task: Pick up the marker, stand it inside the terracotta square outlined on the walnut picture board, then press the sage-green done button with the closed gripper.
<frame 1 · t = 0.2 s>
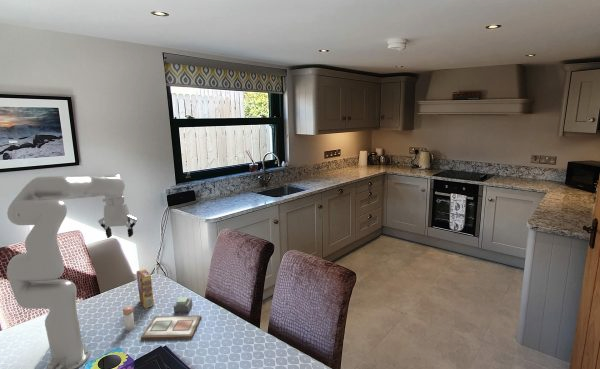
hand: (120, 236, 163), 31 cm above the table, tool pointing down, fingers open, 9 cm apart
done button: (182, 301, 156), point 4 cm above the table, slide at 0.0 cm
marker: (130, 328, 145), on the table
picture board: (172, 328, 144), on the table
button housing: (183, 309, 157), on the table
candy box: (147, 303, 163), on the table
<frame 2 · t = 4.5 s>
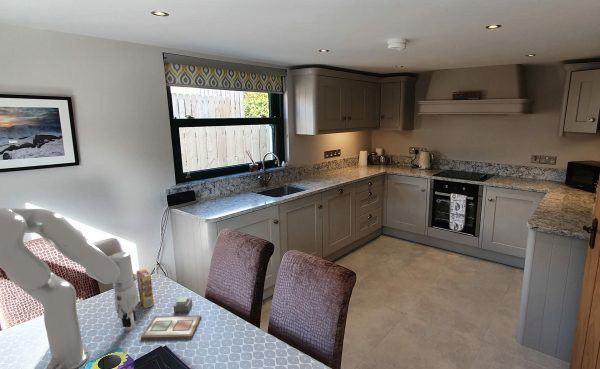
hand: (129, 323, 144), 2 cm above the table, tool pointing down, fingers closed on marker, 3 cm apart
marker: (130, 328, 145), on the table, touching gripper
everything else where it was.
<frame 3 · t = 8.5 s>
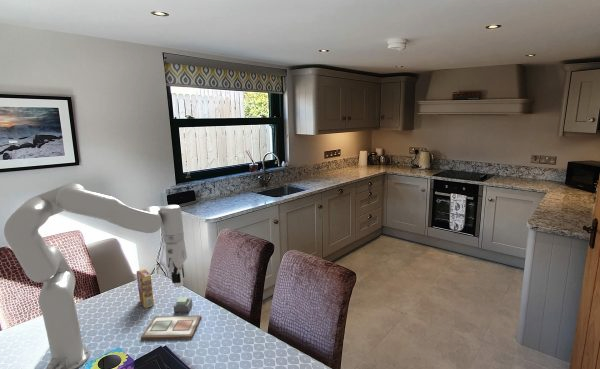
hand: (178, 279, 139), 22 cm above the table, tool pointing down, fingers closed on marker, 3 cm apart
marker: (178, 284, 139), point 20 cm above the table, touching gripper
everything else where it was.
when the fingers open (5 cm above the table, at t = 12.6 s): marker drops 1 cm, resting on picture board.
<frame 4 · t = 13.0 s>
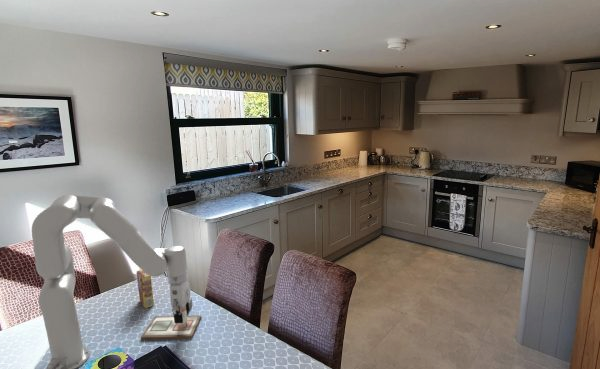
hand: (182, 316, 142), 5 cm above the table, tool pointing down, fingers open, 7 cm apart
marker: (183, 325, 143), point 1 cm above the table, touching picture board
everything else where it was.
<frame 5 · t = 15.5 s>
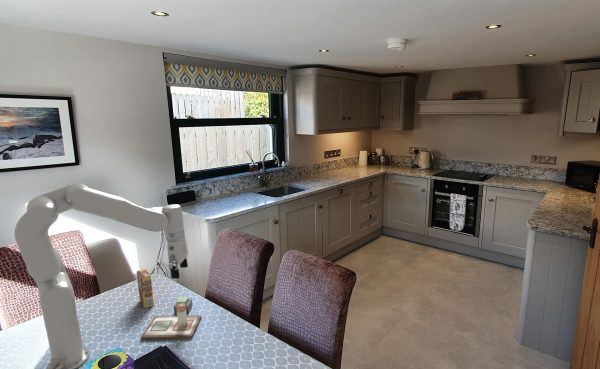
hand: (179, 272, 147), 21 cm above the table, tool pointing down, fingers open, 9 cm apart
nothing on the table moved.
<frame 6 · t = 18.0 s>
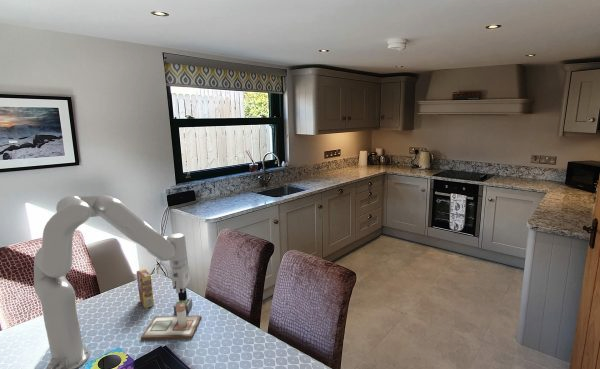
hand: (183, 299, 156), 5 cm above the table, tool pointing down, fingers closed
done button: (182, 302, 157), point 4 cm above the table, slide at 0.2 cm, touching gripper
everything else where it was.
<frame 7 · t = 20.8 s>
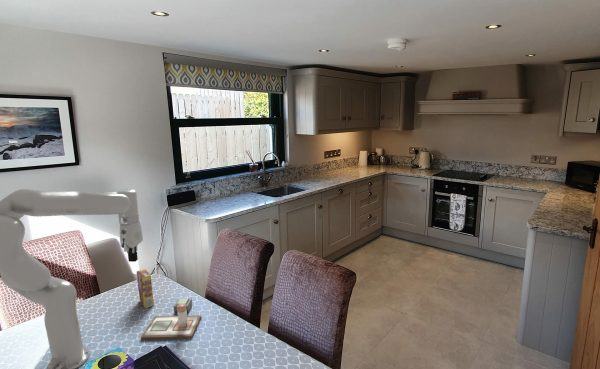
hand: (133, 260, 148), 26 cm above the table, tool pointing down, fingers closed
done button: (182, 303, 157), point 3 cm above the table, slide at 0.9 cm
everything else where it was.
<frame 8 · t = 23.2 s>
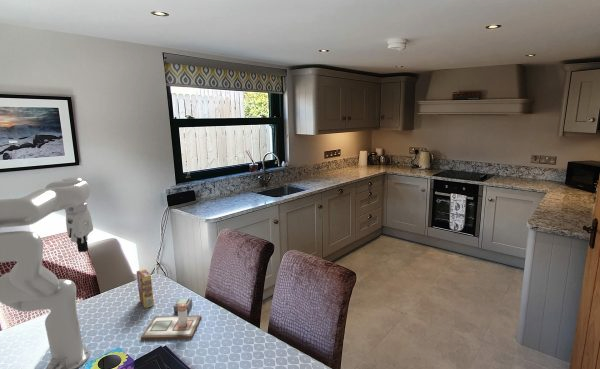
hand: (83, 251, 144), 32 cm above the table, tool pointing down, fingers closed
nothing on the table moved.
at the end: marker 0.1 cm from the target spot on the picture board, point 1.5 cm above the picture board's base; marker tilted 3°; done button slide at 0.9 cm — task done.
